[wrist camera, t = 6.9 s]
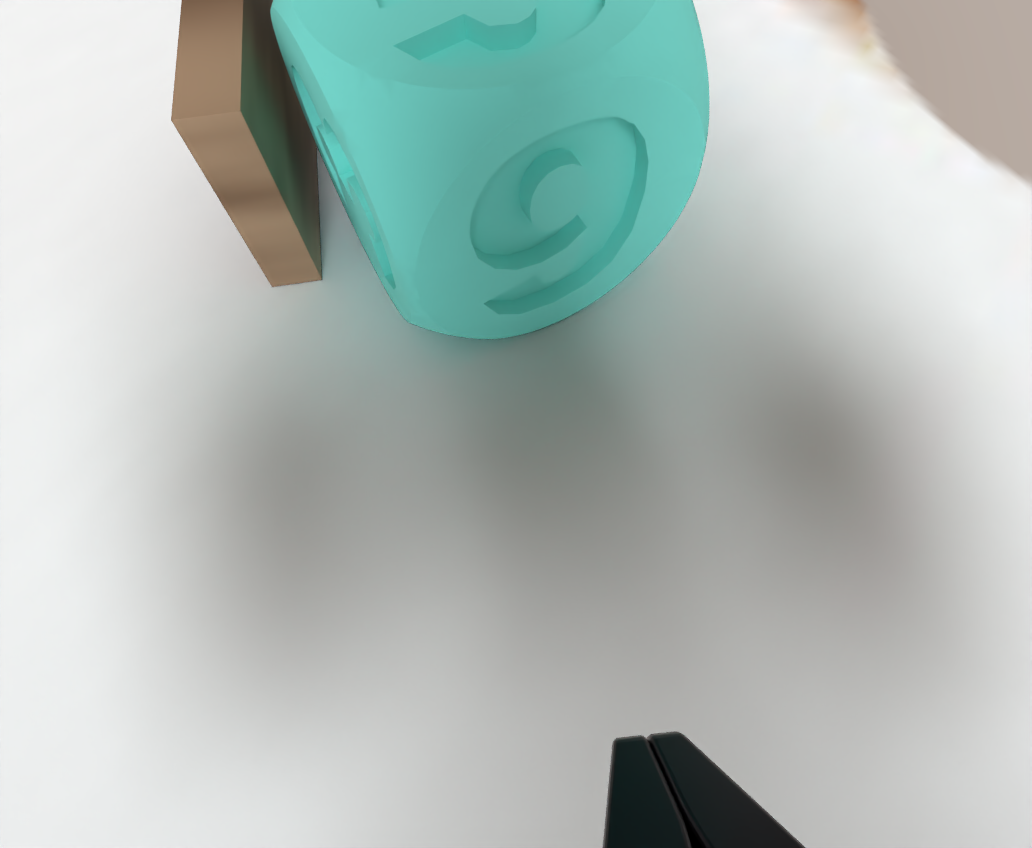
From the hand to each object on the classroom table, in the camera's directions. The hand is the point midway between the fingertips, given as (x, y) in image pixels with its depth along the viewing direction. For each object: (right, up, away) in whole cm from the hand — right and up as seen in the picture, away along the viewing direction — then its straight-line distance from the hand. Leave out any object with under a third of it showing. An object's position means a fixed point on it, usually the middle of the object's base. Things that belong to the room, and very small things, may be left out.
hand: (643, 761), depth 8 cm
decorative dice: (-2, +10, +13) cm, 16 cm away
